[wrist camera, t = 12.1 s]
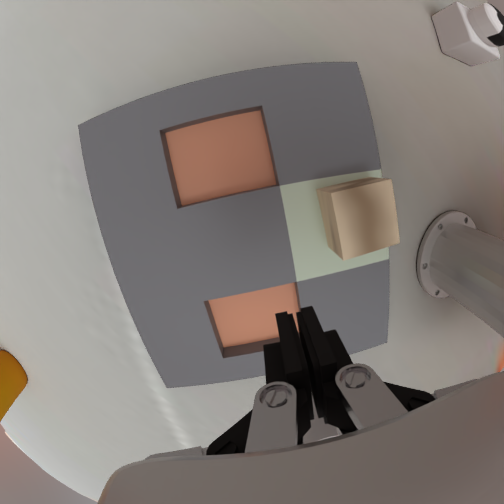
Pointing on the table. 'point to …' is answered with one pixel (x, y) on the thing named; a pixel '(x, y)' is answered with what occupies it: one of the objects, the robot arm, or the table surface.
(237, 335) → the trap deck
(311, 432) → the cup
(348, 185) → the beech block
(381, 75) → the table surface
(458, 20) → the medicine bottle
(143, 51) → the table surface
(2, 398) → the beer bottle
